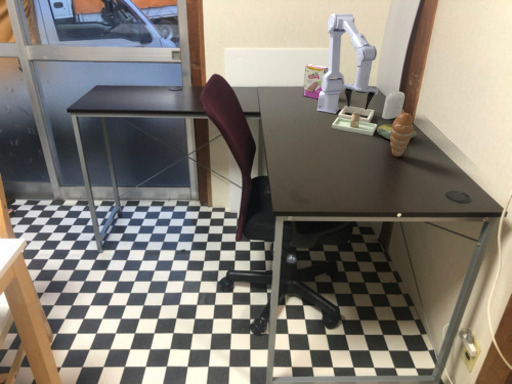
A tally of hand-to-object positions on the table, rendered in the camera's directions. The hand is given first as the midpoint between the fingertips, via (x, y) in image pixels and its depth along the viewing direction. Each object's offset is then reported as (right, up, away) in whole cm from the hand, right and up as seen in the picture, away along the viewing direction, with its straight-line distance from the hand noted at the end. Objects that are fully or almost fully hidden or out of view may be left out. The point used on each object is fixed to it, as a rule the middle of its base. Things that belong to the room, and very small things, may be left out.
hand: (357, 107), depth 178 cm
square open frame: (+3, -2, +15) cm, 16 cm away
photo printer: (+21, -1, +18) cm, 28 cm away
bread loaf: (0, -8, +4) cm, 9 cm away
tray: (0, -8, +4) cm, 9 cm away
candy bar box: (-13, +14, +41) cm, 45 cm away
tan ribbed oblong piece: (+10, -23, -19) cm, 32 cm away
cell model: (+15, -14, -3) cm, 21 cm away
